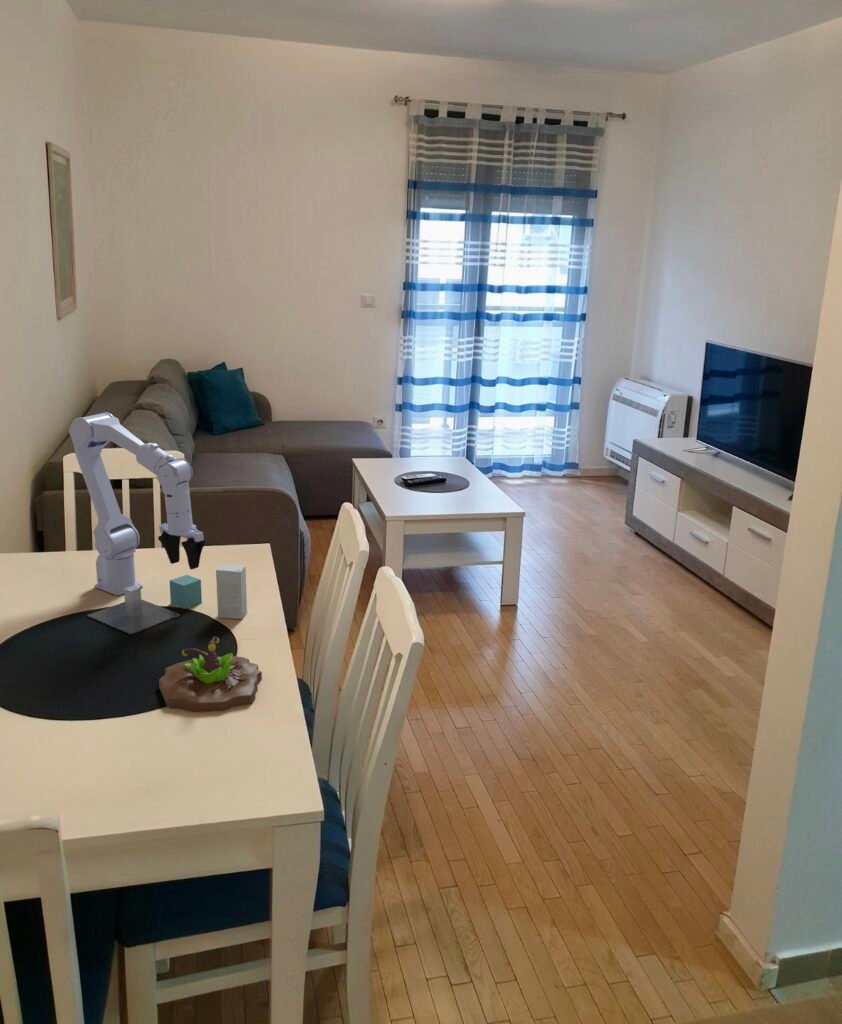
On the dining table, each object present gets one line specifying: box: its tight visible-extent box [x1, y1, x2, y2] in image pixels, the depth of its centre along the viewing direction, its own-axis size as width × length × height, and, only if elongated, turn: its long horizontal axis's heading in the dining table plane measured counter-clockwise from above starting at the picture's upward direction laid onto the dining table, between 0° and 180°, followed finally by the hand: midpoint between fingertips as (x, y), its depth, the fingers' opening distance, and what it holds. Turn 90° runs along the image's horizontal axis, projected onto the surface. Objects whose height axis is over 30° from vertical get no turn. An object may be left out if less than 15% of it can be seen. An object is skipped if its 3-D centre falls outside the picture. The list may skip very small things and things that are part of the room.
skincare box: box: [215, 564, 248, 620], centre depth 211 cm, size 6×4×12 cm
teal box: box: [169, 574, 203, 610], centre depth 218 cm, size 5×5×6 cm
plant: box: [158, 636, 263, 713], centre depth 177 cm, size 20×20×11 cm
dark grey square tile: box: [86, 586, 181, 635], centre depth 209 cm, size 16×14×7 cm
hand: (184, 565), depth 215 cm, fingers open, 7 cm apart
